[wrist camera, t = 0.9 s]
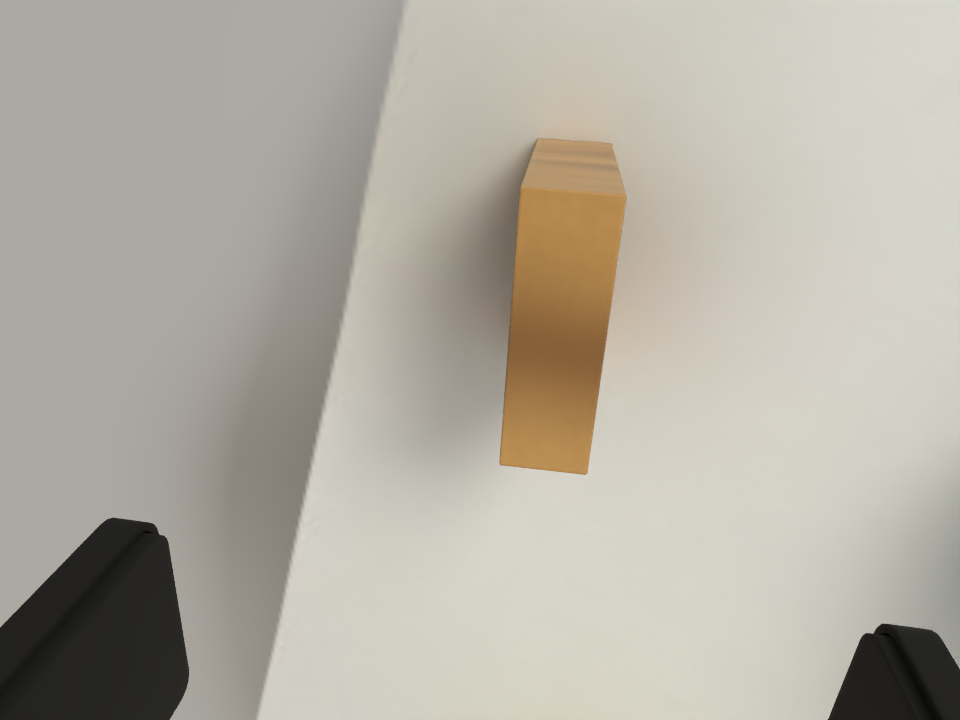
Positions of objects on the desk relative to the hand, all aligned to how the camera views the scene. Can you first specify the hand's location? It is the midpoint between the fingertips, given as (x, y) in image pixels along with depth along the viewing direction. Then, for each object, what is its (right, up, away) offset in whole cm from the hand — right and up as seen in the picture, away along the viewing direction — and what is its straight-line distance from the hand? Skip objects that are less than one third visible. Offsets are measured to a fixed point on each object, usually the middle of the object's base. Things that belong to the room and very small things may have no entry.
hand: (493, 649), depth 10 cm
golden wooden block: (+3, +8, +15) cm, 17 cm away
